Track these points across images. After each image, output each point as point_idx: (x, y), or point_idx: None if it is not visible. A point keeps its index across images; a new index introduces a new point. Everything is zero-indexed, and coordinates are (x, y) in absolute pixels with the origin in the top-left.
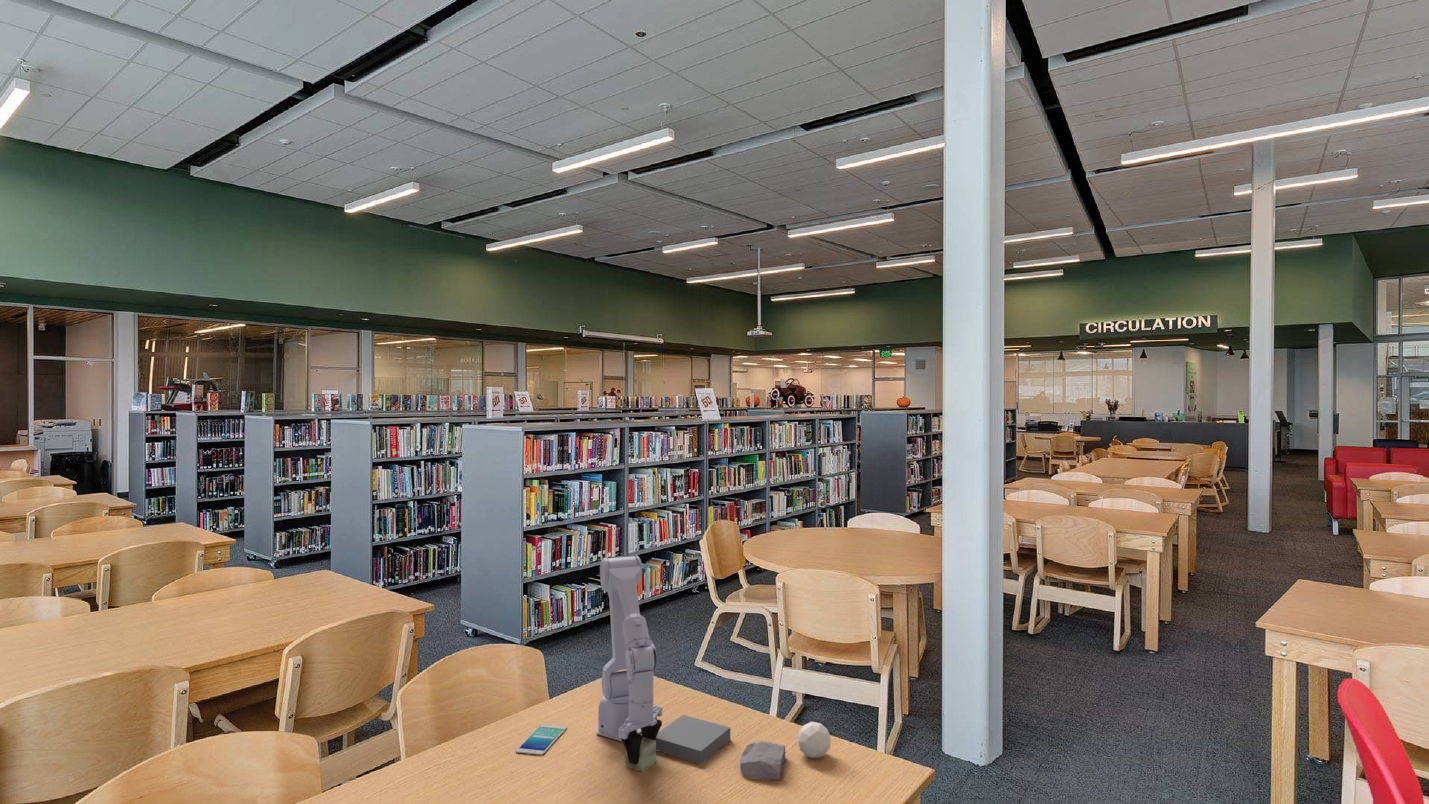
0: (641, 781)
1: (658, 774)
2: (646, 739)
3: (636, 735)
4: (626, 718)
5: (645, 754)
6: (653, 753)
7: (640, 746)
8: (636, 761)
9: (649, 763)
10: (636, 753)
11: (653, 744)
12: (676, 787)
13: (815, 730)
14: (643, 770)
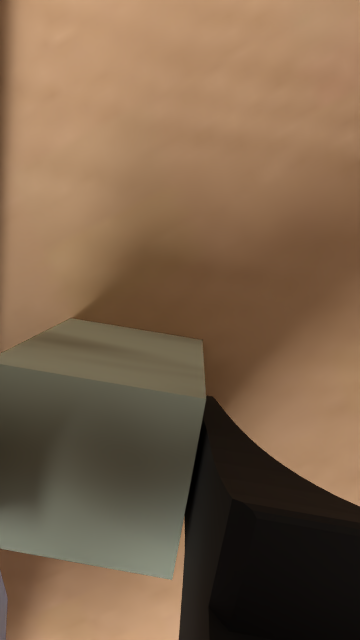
0: (312, 298)
1: (198, 235)
2: (7, 455)
3: (290, 622)
4: None
5: (173, 369)
6: (72, 338)
7: (156, 450)
8: (217, 404)
9: (133, 334)
10: (245, 434)
11: (39, 361)
12: (314, 32)
13: None
14: (198, 341)
